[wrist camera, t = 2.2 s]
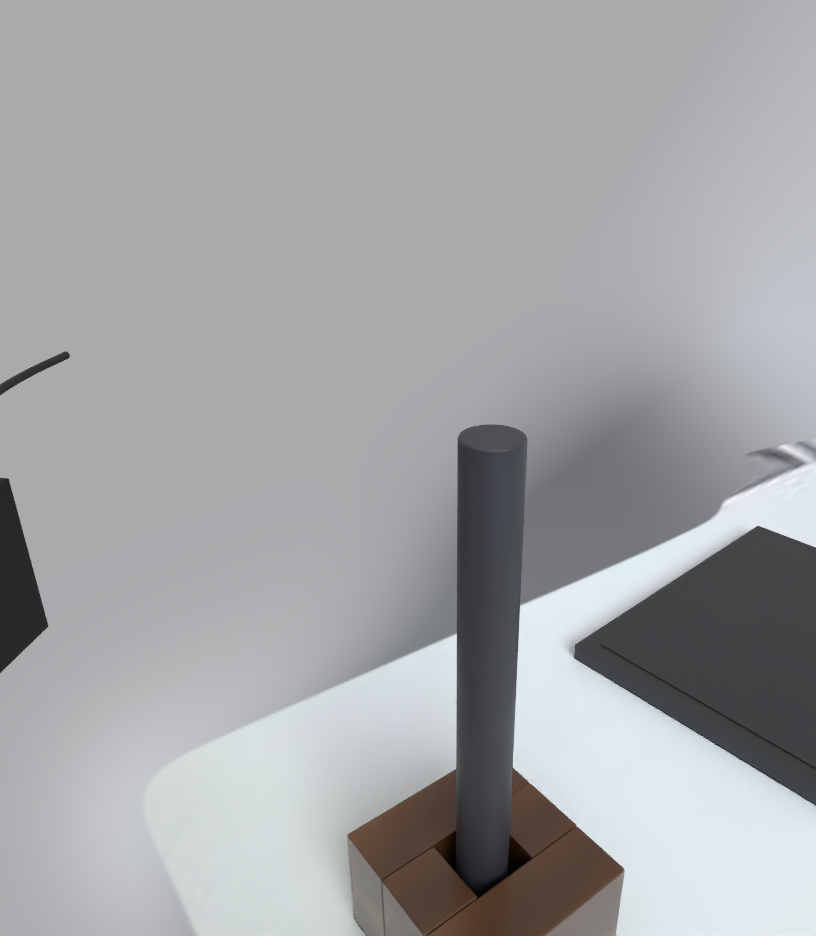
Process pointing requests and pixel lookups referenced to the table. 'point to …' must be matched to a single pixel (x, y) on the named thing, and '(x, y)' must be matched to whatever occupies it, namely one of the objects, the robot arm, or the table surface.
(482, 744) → the stylus
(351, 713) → the table surface
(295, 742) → the table surface
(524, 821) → the pen stand
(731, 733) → the dark grey flat block
